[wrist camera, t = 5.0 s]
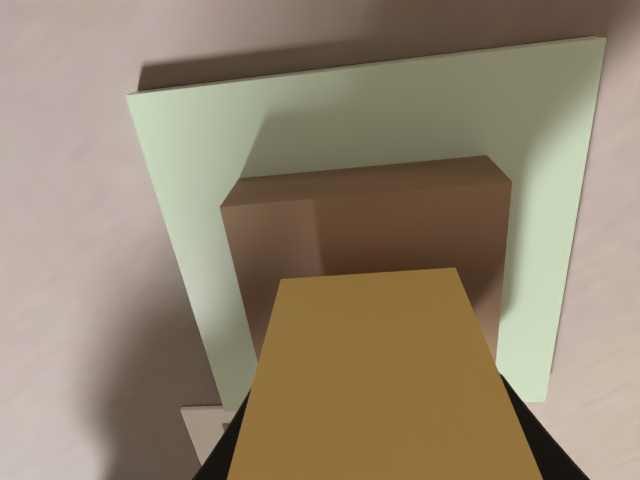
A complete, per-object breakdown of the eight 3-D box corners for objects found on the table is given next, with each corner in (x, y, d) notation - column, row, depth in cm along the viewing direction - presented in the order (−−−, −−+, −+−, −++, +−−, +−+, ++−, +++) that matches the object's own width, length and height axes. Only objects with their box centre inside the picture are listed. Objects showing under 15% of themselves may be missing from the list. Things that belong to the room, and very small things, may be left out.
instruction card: (335, 470, 22) (334, 475, 22) (206, 472, 23) (204, 477, 23) (324, 402, 20) (323, 407, 20) (181, 407, 21) (179, 411, 21)
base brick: (475, 350, 17) (492, 398, 15) (278, 359, 18) (268, 405, 16) (486, 154, 13) (511, 181, 11) (238, 178, 14) (219, 207, 12)
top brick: (452, 395, 13) (524, 671, 7) (303, 400, 13) (270, 662, 8) (455, 267, 11) (559, 517, 5) (280, 279, 11) (215, 518, 6)
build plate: (537, 386, 19) (545, 401, 18) (228, 397, 20) (224, 411, 20) (592, 36, 12) (606, 37, 12) (136, 91, 14) (124, 95, 13)
